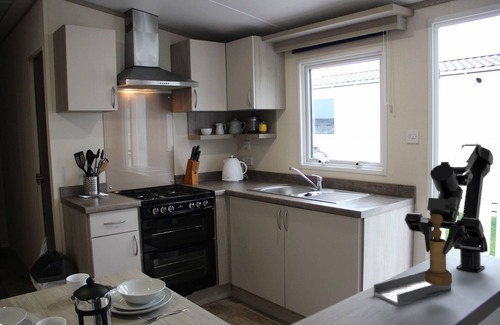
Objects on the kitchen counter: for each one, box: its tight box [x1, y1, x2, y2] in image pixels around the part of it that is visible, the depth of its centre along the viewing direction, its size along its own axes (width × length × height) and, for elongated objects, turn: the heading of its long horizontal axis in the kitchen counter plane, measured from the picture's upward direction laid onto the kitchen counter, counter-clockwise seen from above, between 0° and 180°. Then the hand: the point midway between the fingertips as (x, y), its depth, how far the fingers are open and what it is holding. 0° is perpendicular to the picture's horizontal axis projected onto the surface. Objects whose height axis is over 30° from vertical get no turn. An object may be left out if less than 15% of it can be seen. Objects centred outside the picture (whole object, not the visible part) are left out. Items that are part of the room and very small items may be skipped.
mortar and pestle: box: [424, 213, 453, 286], centre depth 111 cm, size 7×6×18 cm
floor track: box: [373, 270, 452, 307], centre depth 119 cm, size 20×9×3 cm, turn 117°
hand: (435, 252), depth 110 cm, fingers closed on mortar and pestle, 4 cm apart
